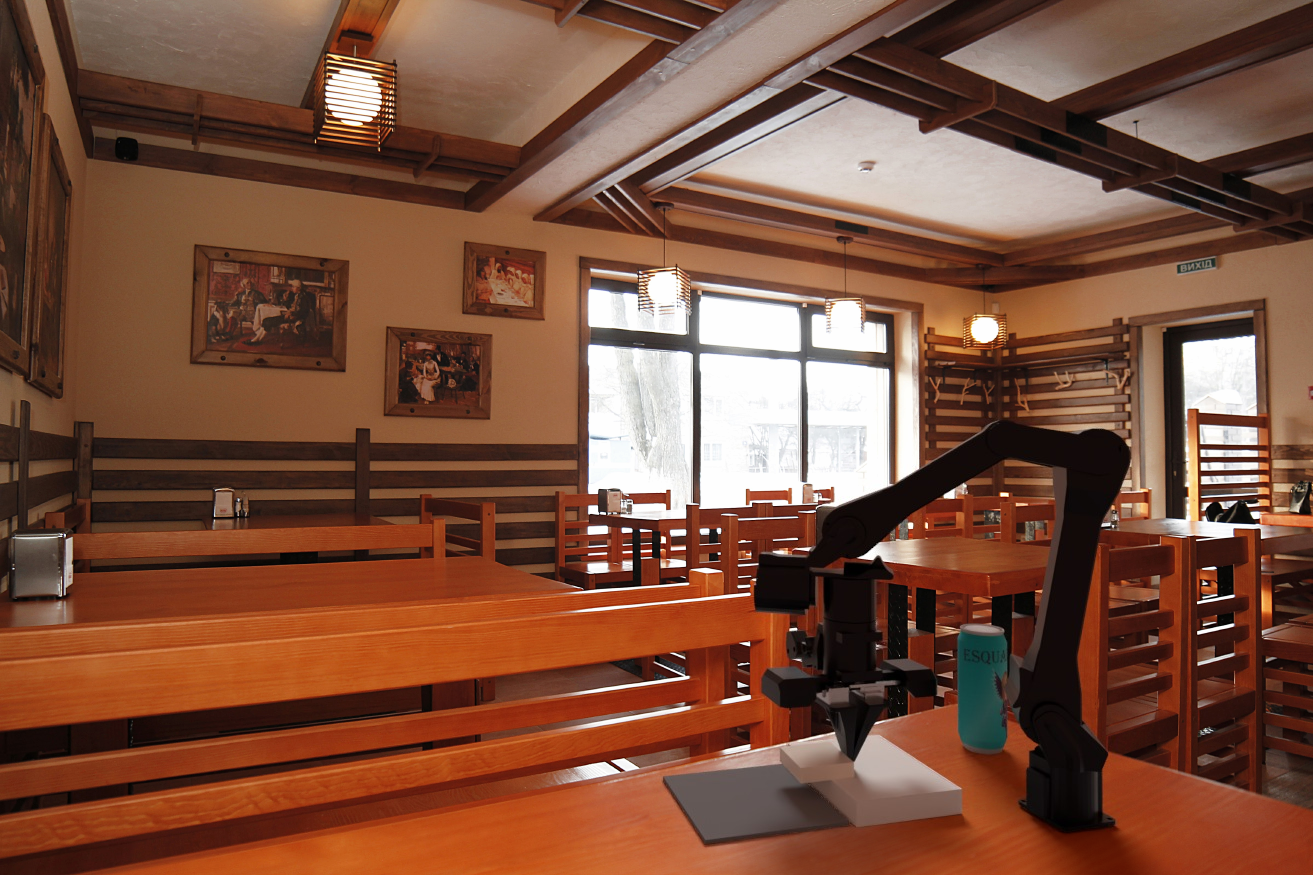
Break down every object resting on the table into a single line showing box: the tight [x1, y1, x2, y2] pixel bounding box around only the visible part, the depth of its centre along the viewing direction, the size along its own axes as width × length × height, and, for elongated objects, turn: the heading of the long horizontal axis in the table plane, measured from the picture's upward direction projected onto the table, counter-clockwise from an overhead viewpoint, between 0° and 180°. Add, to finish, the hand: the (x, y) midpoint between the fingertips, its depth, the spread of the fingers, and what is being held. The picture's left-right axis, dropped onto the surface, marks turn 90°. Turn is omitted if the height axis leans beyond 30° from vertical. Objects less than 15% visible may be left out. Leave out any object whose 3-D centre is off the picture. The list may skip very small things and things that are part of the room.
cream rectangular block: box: [779, 742, 854, 784], centre depth 85 cm, size 6×6×2 cm
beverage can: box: [957, 623, 1008, 756], centre depth 98 cm, size 6×6×15 cm
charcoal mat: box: [662, 763, 851, 845], centre depth 82 cm, size 15×15×1 cm
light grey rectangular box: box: [787, 734, 963, 828], centre depth 86 cm, size 12×16×2 cm
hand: (849, 760), depth 85 cm, fingers closed
